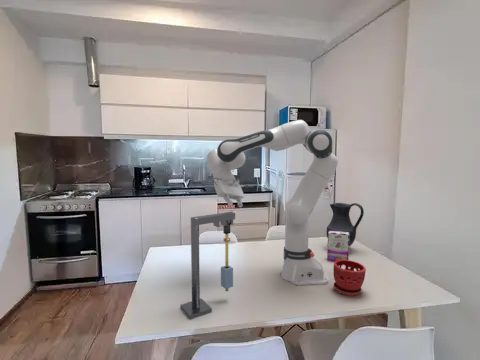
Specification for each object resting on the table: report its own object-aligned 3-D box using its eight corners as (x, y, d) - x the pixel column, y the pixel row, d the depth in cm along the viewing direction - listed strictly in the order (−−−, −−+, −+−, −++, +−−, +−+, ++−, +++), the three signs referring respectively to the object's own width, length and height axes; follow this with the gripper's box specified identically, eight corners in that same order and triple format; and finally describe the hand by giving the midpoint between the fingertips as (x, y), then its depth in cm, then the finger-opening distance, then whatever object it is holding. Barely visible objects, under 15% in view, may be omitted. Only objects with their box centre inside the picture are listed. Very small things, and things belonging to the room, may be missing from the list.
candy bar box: (348, 260, 165) (349, 232, 163) (348, 263, 160) (349, 234, 158) (327, 257, 169) (328, 229, 167) (326, 260, 164) (327, 232, 162)
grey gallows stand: (227, 293, 127) (227, 210, 123) (238, 302, 120) (239, 214, 116) (180, 308, 115) (178, 217, 111) (190, 319, 108) (188, 222, 104)
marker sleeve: (228, 283, 124) (228, 264, 123) (232, 286, 121) (232, 267, 120) (220, 285, 122) (220, 266, 121) (225, 288, 119) (225, 269, 118)
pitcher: (331, 243, 194) (333, 198, 190) (364, 250, 182) (367, 202, 178) (321, 251, 180) (323, 202, 176) (357, 258, 168) (359, 206, 164)
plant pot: (347, 300, 122) (348, 273, 120) (326, 287, 134) (327, 261, 132) (371, 294, 127) (372, 268, 126) (348, 281, 139) (349, 257, 137)
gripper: (218, 173, 130) (230, 200, 125) (240, 180, 147) (251, 204, 143) (207, 180, 132) (218, 207, 127) (230, 186, 150) (240, 210, 145)
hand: (236, 206), depth 135 cm, fingers open, 8 cm apart
